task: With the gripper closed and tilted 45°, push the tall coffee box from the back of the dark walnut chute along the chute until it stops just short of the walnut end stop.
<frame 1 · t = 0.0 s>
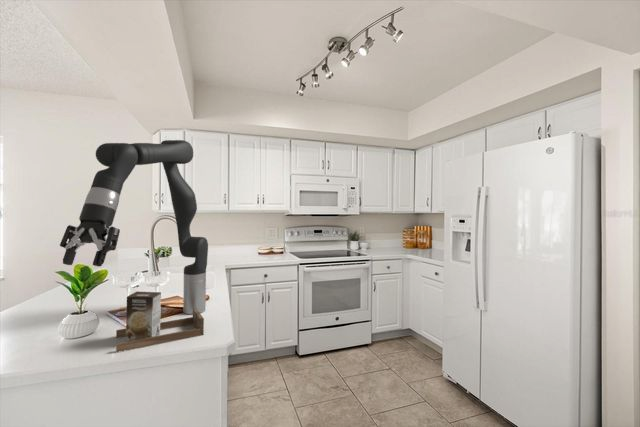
hand: (81, 265, 79), 31 cm above the countertop, tool tilted 20°, fingers open, 8 cm apart
walnut chute: (158, 336, 110), on the countertop
coffee box: (143, 339, 107), resting in walnut chute
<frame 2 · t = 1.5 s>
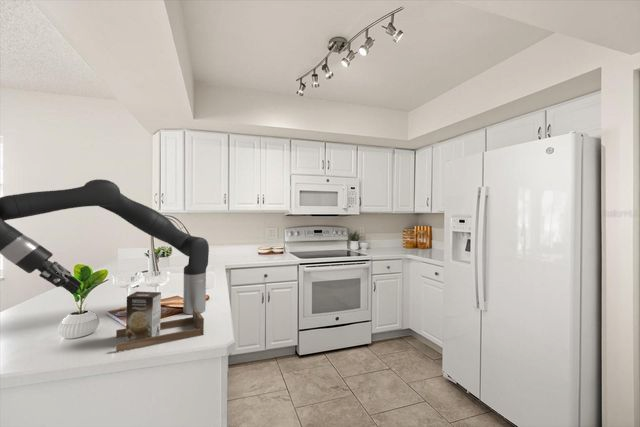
hand: (77, 288, 97), 20 cm above the countertop, tool tilted 45°, fingers open, 6 cm apart
nothing on the countertop moved.
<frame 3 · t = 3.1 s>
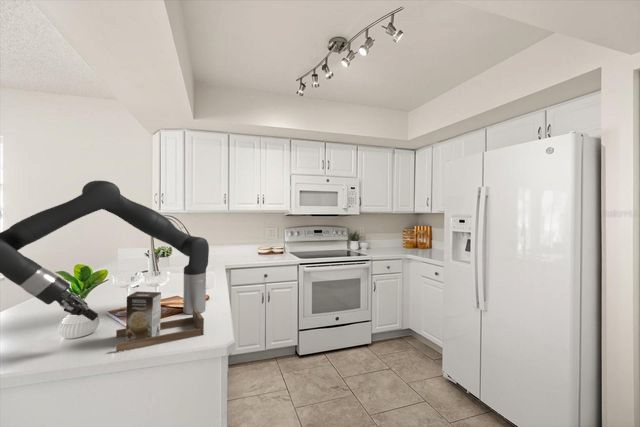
hand: (95, 317, 100), 10 cm above the countertop, tool tilted 45°, fingers closed
nothing on the countertop moved.
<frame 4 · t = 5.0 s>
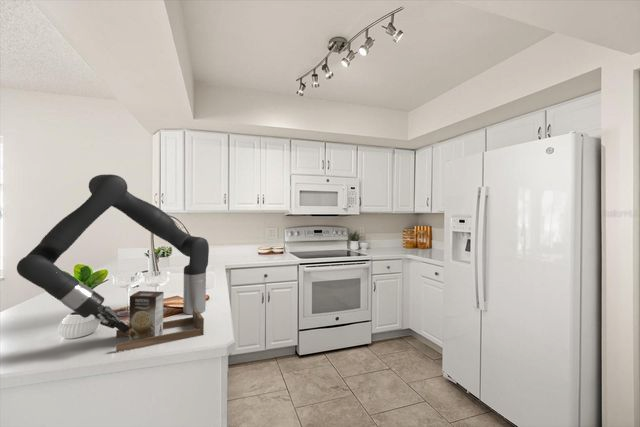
hand: (127, 329, 105), 4 cm above the countertop, tool tilted 45°, fingers closed
coffee box: (146, 339, 108), resting in walnut chute, touching gripper
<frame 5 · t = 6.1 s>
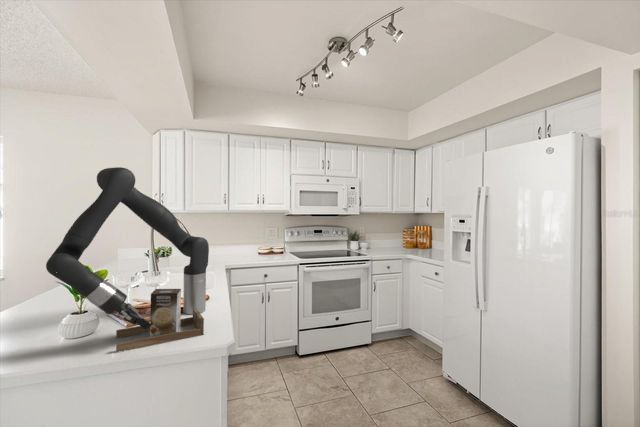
hand: (148, 326, 108), 4 cm above the countertop, tool tilted 45°, fingers closed
coffee box: (165, 334, 112), resting in walnut chute, touching gripper
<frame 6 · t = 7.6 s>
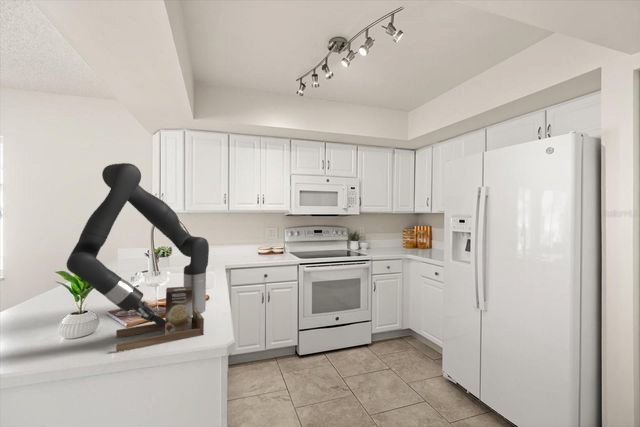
hand: (163, 323, 111), 4 cm above the countertop, tool tilted 45°, fingers closed
coffee box: (178, 331, 115), resting in walnut chute, touching gripper
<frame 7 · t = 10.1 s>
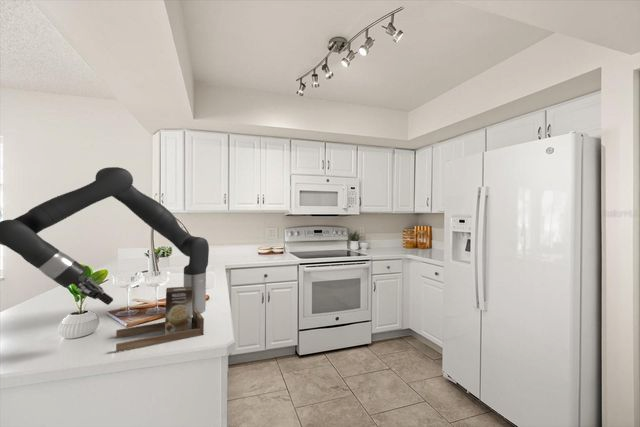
hand: (110, 302, 102), 15 cm above the countertop, tool tilted 45°, fingers closed
coffee box: (178, 331, 115), resting in walnut chute
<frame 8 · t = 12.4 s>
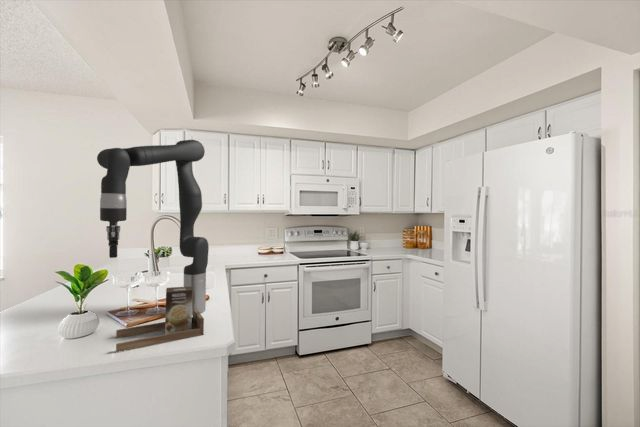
hand: (113, 257, 105), 29 cm above the countertop, tool pointing down, fingers closed
nothing on the countertop moved.
at the end: coffee box inside the target area (1.4 cm from its centre), resting in walnut chute; coffee box tilted 0°; coffee box moved 11.6 cm from its start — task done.
